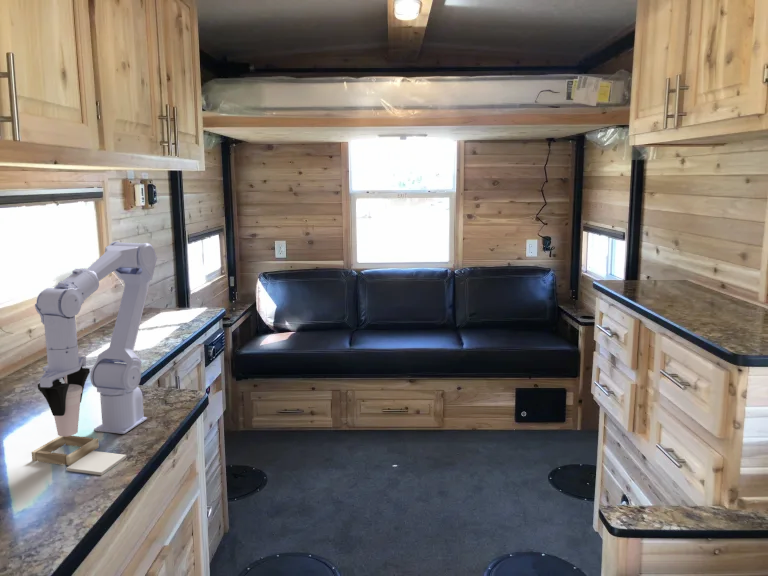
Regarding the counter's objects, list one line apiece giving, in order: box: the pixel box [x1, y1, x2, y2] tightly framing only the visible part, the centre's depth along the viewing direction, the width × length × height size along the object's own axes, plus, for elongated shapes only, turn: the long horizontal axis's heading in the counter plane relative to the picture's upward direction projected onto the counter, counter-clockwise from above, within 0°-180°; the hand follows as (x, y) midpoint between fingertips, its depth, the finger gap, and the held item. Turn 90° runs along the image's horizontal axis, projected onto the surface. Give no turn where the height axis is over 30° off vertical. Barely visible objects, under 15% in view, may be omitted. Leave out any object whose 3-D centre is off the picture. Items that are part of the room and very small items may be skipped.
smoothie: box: [53, 375, 84, 437], centre depth 129 cm, size 6×6×14 cm
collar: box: [31, 435, 100, 467], centre depth 131 cm, size 9×9×2 cm
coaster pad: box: [66, 450, 127, 476], centre depth 127 cm, size 8×8×1 cm
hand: (67, 409), depth 129 cm, fingers closed on smoothie, 6 cm apart
